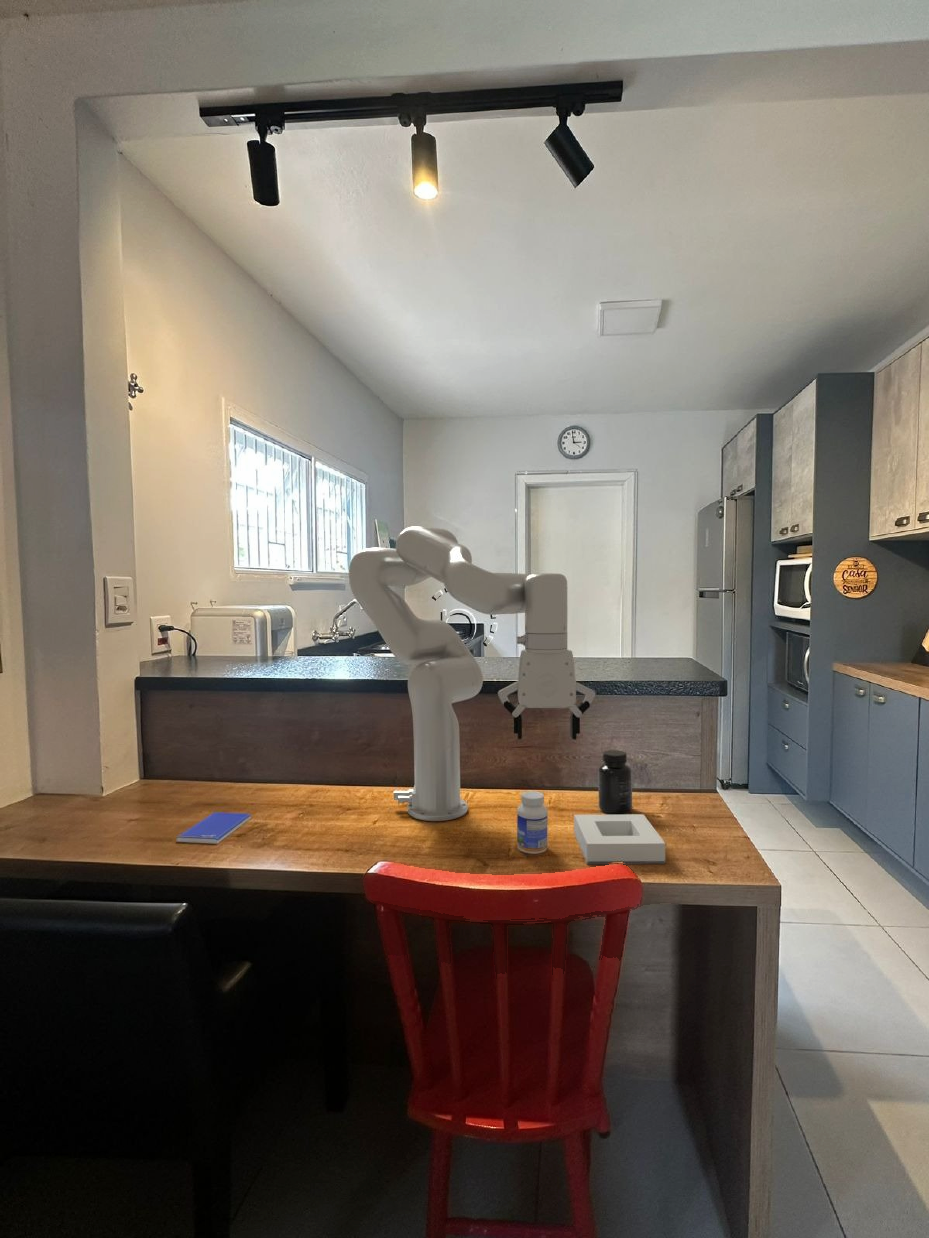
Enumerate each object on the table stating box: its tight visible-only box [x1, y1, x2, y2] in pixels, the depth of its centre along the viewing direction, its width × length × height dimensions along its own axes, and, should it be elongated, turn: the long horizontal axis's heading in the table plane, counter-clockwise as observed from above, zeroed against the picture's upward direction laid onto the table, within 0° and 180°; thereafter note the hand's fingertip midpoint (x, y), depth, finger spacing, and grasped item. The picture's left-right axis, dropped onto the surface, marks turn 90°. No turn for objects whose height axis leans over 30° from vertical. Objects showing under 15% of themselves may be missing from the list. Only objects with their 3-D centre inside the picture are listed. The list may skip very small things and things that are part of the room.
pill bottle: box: [516, 790, 548, 855], centre depth 107 cm, size 5×5×10 cm
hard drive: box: [176, 811, 251, 845], centre depth 118 cm, size 2×8×12 cm
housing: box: [573, 813, 666, 865], centre depth 107 cm, size 13×13×4 cm
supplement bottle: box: [597, 749, 633, 815], centre depth 126 cm, size 7×7×12 cm
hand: (546, 737), depth 109 cm, fingers open, 9 cm apart
